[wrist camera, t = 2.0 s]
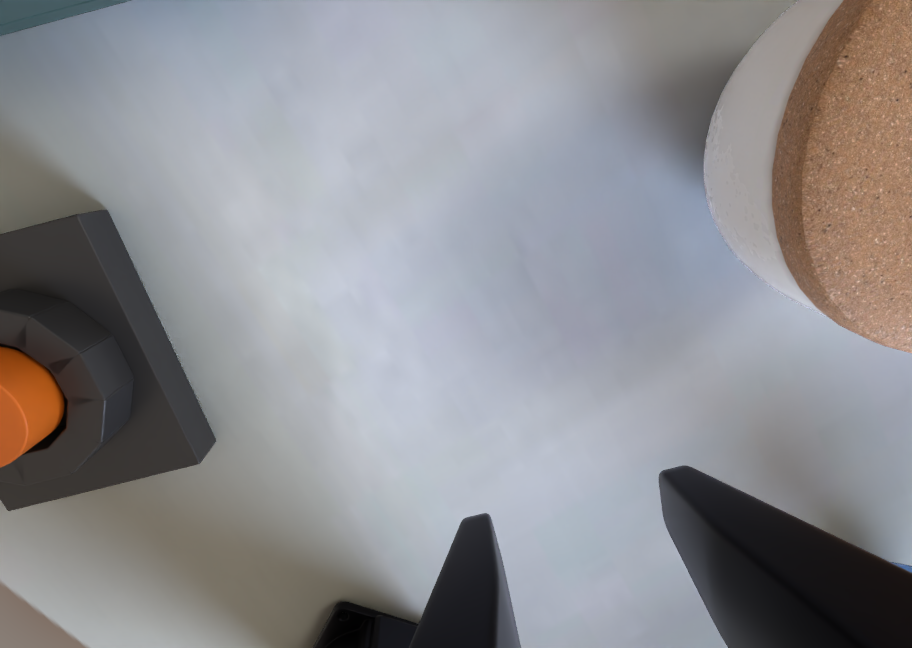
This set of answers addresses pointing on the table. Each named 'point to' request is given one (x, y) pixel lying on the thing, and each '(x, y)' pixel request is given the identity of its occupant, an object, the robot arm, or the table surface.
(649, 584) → the table surface
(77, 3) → the dark green toolbox
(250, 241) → the table surface
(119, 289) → the button block
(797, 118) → the trinket box
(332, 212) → the table surface
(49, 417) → the button
